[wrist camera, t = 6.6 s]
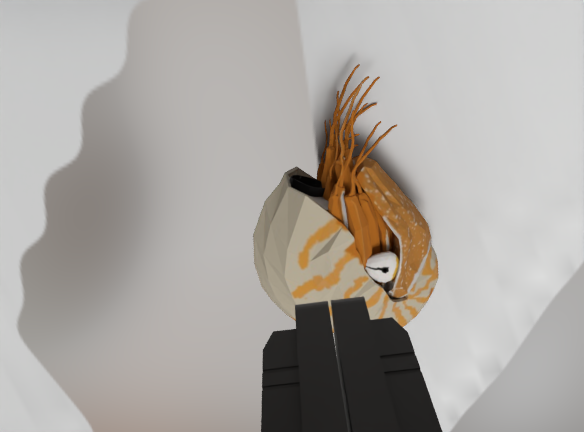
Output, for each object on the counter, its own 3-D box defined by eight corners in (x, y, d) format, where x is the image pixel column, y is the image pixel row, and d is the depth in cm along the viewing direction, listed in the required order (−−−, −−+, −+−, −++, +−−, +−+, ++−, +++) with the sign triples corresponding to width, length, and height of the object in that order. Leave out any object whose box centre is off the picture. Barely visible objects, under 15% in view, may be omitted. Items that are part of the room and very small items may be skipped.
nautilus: (274, 47, 37) (470, 76, 39) (240, 300, 46) (402, 312, 48) (282, 64, 30) (522, 98, 32) (240, 360, 38) (432, 371, 41)
